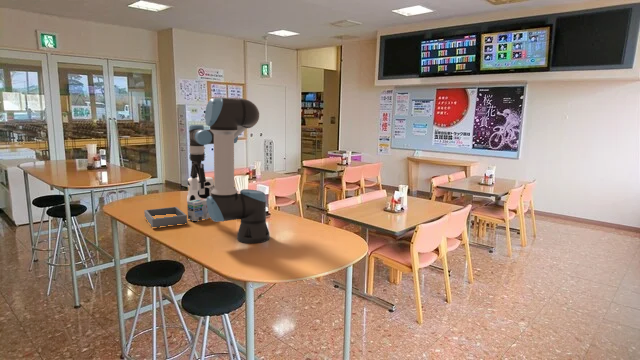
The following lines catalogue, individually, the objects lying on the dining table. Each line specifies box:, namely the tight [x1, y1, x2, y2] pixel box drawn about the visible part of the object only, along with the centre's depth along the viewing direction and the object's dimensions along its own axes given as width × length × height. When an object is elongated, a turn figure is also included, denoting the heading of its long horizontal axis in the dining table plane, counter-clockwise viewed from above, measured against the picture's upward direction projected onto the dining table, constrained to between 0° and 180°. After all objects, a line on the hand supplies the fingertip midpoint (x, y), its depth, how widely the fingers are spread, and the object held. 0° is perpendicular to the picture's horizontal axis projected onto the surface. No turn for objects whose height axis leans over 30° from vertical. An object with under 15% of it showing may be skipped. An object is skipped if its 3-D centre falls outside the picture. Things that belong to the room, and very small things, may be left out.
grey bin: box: [143, 206, 188, 228], centre depth 209 cm, size 22×17×5 cm
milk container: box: [186, 176, 214, 202], centre depth 243 cm, size 17×17×18 cm
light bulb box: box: [186, 198, 211, 222], centre depth 214 cm, size 11×7×11 cm, turn 143°
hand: (198, 192), depth 213 cm, fingers open, 13 cm apart
